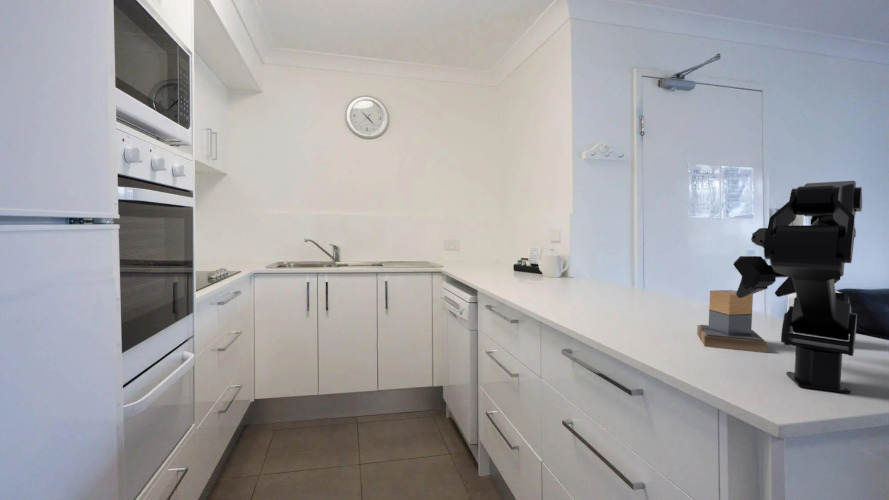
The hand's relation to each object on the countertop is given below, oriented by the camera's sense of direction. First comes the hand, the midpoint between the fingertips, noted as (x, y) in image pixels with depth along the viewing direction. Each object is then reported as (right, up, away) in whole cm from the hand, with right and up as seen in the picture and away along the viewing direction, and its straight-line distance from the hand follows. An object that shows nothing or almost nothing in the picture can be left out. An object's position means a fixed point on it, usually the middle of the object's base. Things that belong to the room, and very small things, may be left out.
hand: (757, 295), depth 85 cm
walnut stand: (-1, -11, +8) cm, 14 cm away
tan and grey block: (-1, -9, +7) cm, 12 cm away
